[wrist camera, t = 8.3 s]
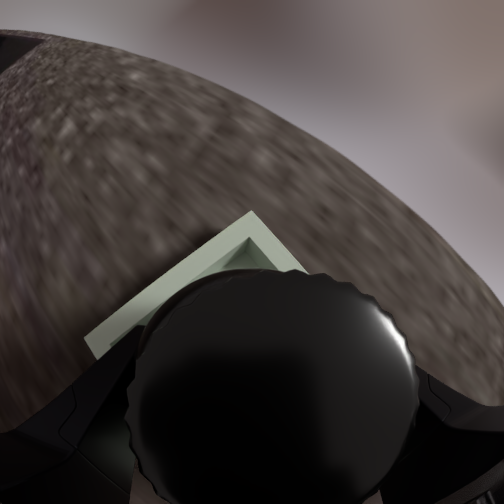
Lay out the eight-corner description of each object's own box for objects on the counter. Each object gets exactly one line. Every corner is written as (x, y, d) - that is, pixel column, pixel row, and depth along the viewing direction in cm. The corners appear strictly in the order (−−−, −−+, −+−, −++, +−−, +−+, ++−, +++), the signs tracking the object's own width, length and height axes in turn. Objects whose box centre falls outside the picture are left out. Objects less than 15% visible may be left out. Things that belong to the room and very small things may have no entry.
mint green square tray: (225, 479, 13) (228, 500, 10) (102, 339, 15) (83, 337, 13) (361, 362, 17) (384, 363, 14) (246, 229, 19) (251, 210, 16)
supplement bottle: (160, 400, 13) (43, 499, 2) (194, 291, 16) (143, 153, 4) (276, 432, 13) (386, 556, 2) (307, 324, 16) (471, 265, 4)
